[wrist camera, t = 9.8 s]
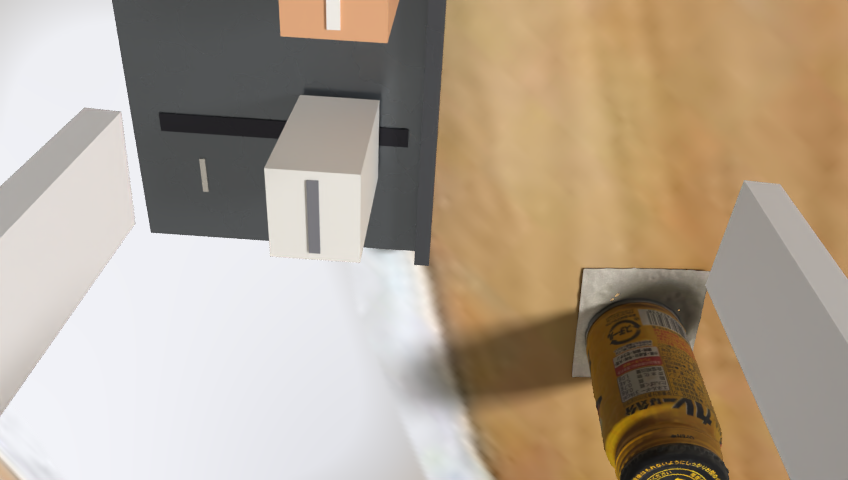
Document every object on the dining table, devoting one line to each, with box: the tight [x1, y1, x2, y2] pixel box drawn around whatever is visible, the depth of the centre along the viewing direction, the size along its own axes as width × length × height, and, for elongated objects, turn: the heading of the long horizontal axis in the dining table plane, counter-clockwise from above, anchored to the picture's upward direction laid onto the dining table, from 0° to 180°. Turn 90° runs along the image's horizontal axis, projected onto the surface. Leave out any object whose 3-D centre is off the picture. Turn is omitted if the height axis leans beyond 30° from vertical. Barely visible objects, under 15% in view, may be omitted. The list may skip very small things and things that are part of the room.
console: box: [112, 0, 446, 266], centre depth 37 cm, size 24×16×2 cm, turn 177°
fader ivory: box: [264, 95, 380, 263], centre depth 36 cm, size 4×4×8 cm
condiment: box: [572, 268, 729, 480], centre depth 42 cm, size 7×8×12 cm
